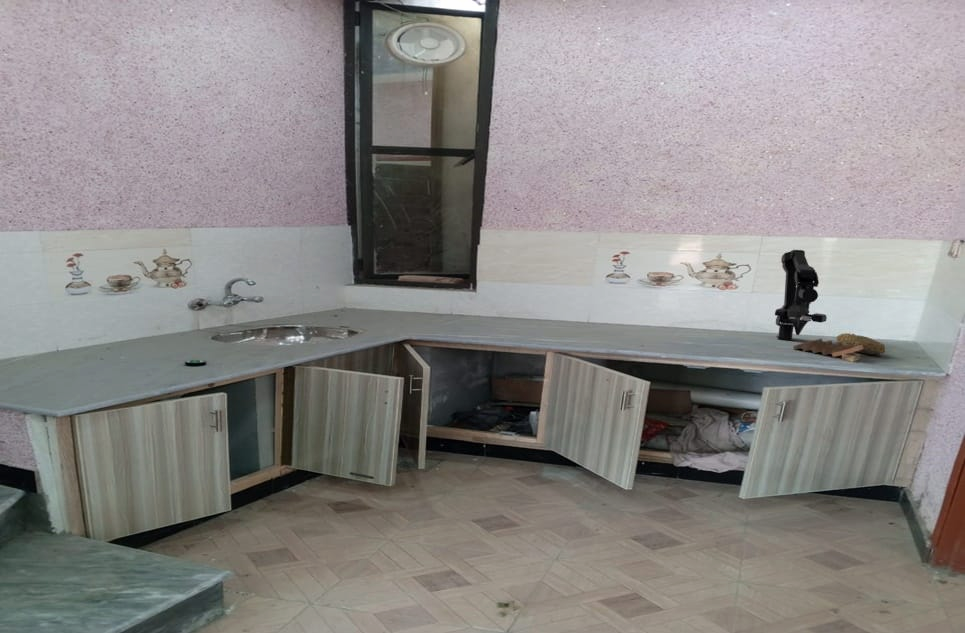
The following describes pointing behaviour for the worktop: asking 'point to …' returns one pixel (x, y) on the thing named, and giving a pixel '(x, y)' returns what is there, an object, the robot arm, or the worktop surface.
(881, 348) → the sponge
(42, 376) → the worktop surface
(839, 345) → the domino
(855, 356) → the stop block
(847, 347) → the domino
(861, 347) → the domino
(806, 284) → the robot arm
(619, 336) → the worktop surface
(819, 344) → the domino
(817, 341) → the brown rectangular block
